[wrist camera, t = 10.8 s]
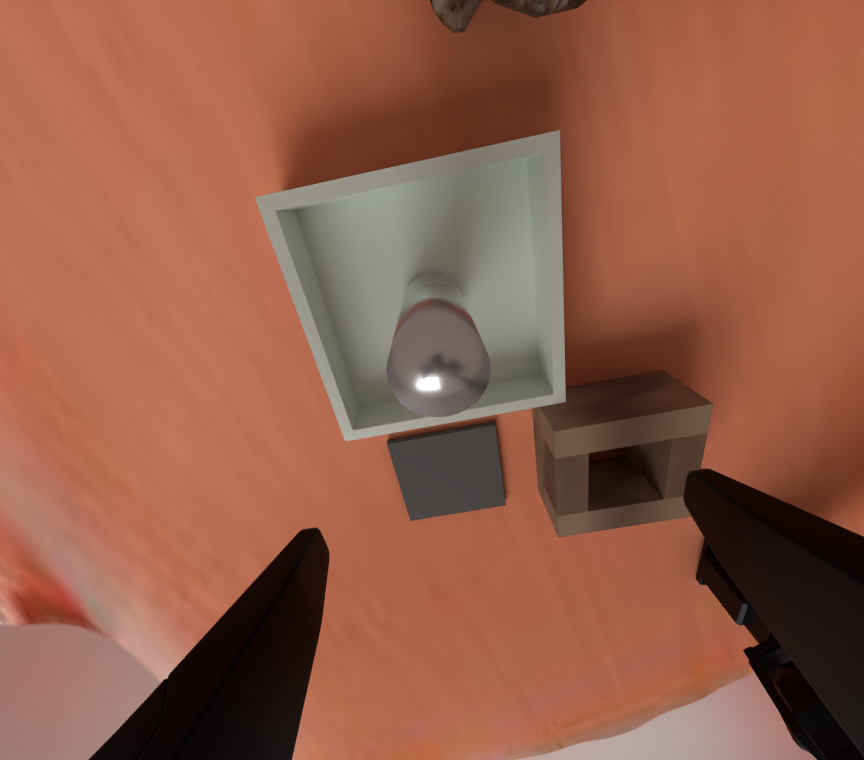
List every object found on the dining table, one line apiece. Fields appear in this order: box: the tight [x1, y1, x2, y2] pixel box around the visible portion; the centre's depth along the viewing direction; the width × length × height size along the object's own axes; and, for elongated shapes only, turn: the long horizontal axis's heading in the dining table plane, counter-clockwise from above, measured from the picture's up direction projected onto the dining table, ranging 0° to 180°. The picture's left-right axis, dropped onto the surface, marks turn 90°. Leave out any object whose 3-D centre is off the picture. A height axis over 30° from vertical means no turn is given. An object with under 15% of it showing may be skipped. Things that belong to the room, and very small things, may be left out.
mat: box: [387, 422, 506, 521], centre depth 24 cm, size 7×7×1 cm
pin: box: [386, 271, 491, 417], centre depth 14 cm, size 3×3×9 cm
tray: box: [255, 130, 566, 441], centre depth 17 cm, size 12×12×3 cm
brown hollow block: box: [533, 371, 713, 537], centre depth 21 cm, size 8×8×4 cm
